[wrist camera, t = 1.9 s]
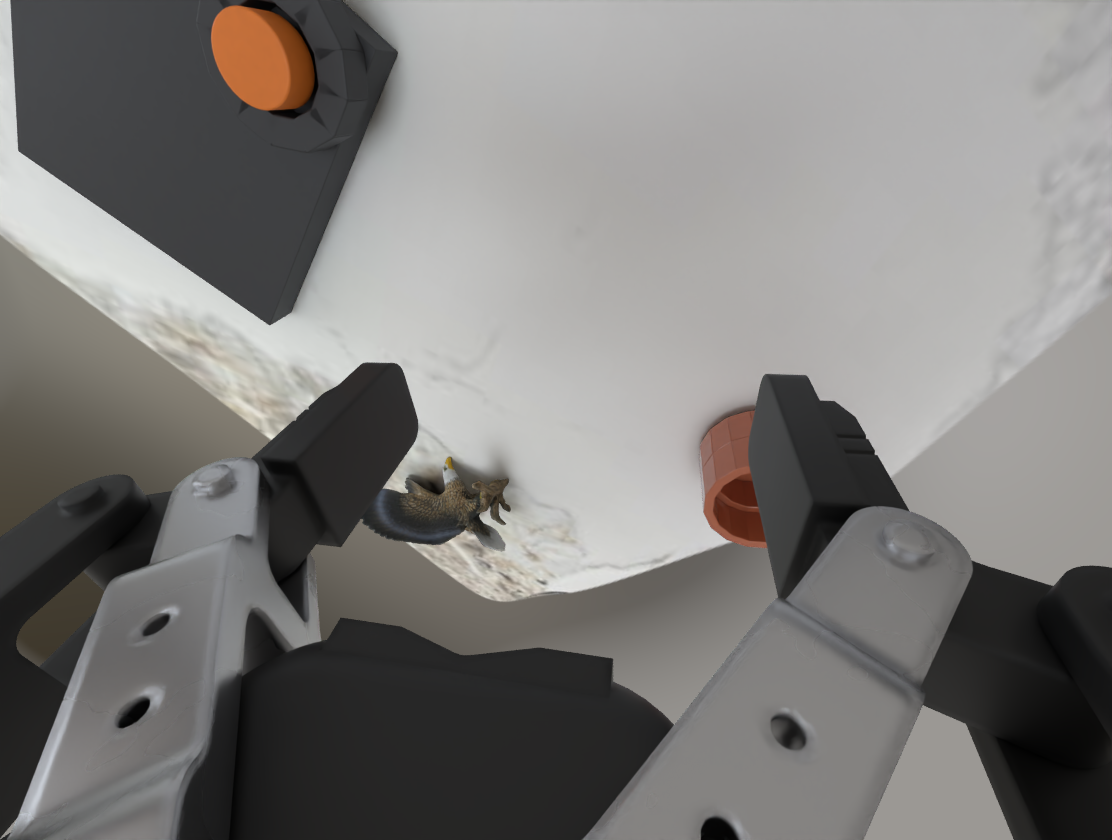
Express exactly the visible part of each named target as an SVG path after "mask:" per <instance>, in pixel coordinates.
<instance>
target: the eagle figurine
mask: <svg viewBox="0 0 1112 840" xmlns="http://www.w3.org/2000/svg"><path fill="white" fill-rule="evenodd" d="M443 478H444V483H445V491H444V492H443V493H442V494H440V495H437V494H434V493H432V492H430V491H428V490H426V489H424V488H423V487H421V486H420V485H418V484H417V483H415V482H414V481H413V480H411V479H409V478H406V480H407V481H405V483H406V484H407V485H406V486H405V488H406V489H408V493H399V492H397V491H394V490H390V489H381V491H380V492H379V494H378V495H377V496H376V498H375V499H374V501H373V502H372V504H371V505H370V506H369V508H368V509H367V511H366V512H365V514H364V515H363V516H362V518H361V519H363V524H364V525H367V526H369V529H371V530H374V532H375V533H378V534H380V536H383V537H384V536H385V537H386V539H392V540H394V541H404V542H411V543H417V544H431V545H441V544H443V543H445V542H447V541H449V540H450V539H452V538H454V537H456V535H459V534H461V532H464V530H467V531H469V532H471V533H473V534H475V535H476V536H477V538H478V539H479V541H480V542H481V543H482V545H483V546H485V547H488V548H490V549H493V550H498V551H505V542H504V541H503V540H502V538H501V536H500V535H499V533H498V532H497V531H496V530H495V529H494V528H492V527H491V526H488V525H486V524H484V523H483V522H482V521H481V520H480V517H479V515H480V513H481V512H485V511H487V510H488V508H489V506H490V507H491V510H490V515H491V518H492V519H493V520H495V521H497V522H498V523H500V524H501V525H506V523H505V522H504V521H503V520H502V519H501V518H500V516H499V503H500V504H501V506H502V508H503V509H504V510H506V511H508V512H510V510H511V508H510V506H509V505H507V504H506V503H505V500H504V498H503V495H502V493H503V490H504V488H505V487H506V485H507V484H508V483H509V479H502V480H498V479H497V480H494V481H492V482H491V483H490V485H489V486H487V485H485V484H484V483H482V482H481V481H478V482H476V483H474V484H472V488H474V489H476V490H480V491H481V492H479V493H477V494H470V493H469V491H468V490H467V488H466V486H465V485H464V483H463V482H462V481H461V480H460V479H459V477H458V475H457V474H456V472H455V470H454V468H453V466H452V462H451V457H448V458H447V460H446V463H445V465H444V467H443Z"/></svg>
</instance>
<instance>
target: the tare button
mask: <svg viewBox="0 0 1112 840" xmlns="http://www.w3.org/2000/svg"><path fill="white" fill-rule="evenodd" d="M211 43H212V50H213V54H214V58H215V61H216V64H217V66H218V69H219V71H220V73H221V75H222V76H223V78H224V80H225V81H226V83H227V84H228V86H229V87H230V88H231V89H232V91H233V92H234V93H235V94H236V95H237V96H238V97H239V98H240V99H241V100H243V101H244V102H246V103H247V104H249V105H250V106H252V107H254V108H257V109H260V110H265V111H270V110H285V109H296V108H299V107H301V106H303V105H304V104H305V103H306V102H307V101H308V100H309V98H310V97H311V95H312V92H313V89H314V82H315V73H314V66H313V61H312V58H311V55H310V52H309V50H308V47H307V45H306V43H305V42H304V40H303V38H302V37H301V35H300V34H299V32H298V31H297V30H296V29H295V28H294V27H293V26H292V25H291V24H290V23H289V22H288V21H287V20H286V19H284V18H283V17H282V16H280V15H278V14H276V13H274V12H270V11H266V10H261V9H255V8H250V7H244V6H237V5H235V6H229V7H226V8H225V9H223V10H222V11H221V12H220V13H219V14H218V15H217V16H216V18H215V20H214V22H213V26H212V32H211Z"/></svg>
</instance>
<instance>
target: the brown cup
mask: <svg viewBox="0 0 1112 840" xmlns="http://www.w3.org/2000/svg"><path fill="white" fill-rule="evenodd" d="M754 412H755V411H746V412H743V413H739V414H736V415H733V416H729V417H728V418H725V419H724V420H723V421H721V422H720V423H718V424H717V425H715V426H714V427H712V428H711V430H709V432H708V433H707V435H706V436H705V438H704V439H703V441H702V442H701V445H700V453H699V465H700V477H701V489H702V501H703V512H704V515H705V517H706V519H707V521H708V523H709V525H710V527H711V528H712V529H713V530H715V531H716V532H717V533H719V534H720V535H721V536H722V537H724V538H725V539H727V540H729V541H732V542H735V543H738V544H741V545H744V546H747V547H758V548H767V544H766V540H765V535H764V530H763V526H762V521H761V517H760V512H759V508H758V503H757V499H756V494H755V490H754V485H753V481H752V476H751V472H750V467H749V461H748V444H749V436H750V431H751V427H752V422H753V417H754Z"/></svg>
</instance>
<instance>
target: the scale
mask: <svg viewBox="0 0 1112 840" xmlns="http://www.w3.org/2000/svg"><path fill="white" fill-rule="evenodd" d="M10 1H11V20H12V40H13V59H14V78H15V97H16V116H17V136H18V151H19V152H20V153H22V154H23V155H25V156H26V157H28V158H29V159H31V160H32V161H33V162H35V163H36V164H38V165H39V166H41V167H42V168H44V169H45V170H46V171H48V172H49V173H51V174H52V175H54V176H55V177H56V178H58V179H59V180H61V181H62V182H64V183H65V184H67V185H68V186H69V187H71V188H72V189H74V190H75V191H77V192H78V193H80V194H81V195H82V196H84V197H85V198H87V199H88V200H90V201H91V202H93V203H94V204H95V205H97V206H98V207H100V208H101V209H103V210H104V211H105V212H107V213H108V214H110V215H111V216H113V217H114V218H116V219H117V220H118V221H120V222H121V223H123V224H124V225H126V226H127V227H129V228H130V229H131V230H133V231H134V232H136V233H137V234H139V235H140V236H142V237H143V238H144V239H146V240H147V241H149V242H150V243H152V244H153V245H154V246H156V247H157V248H159V249H160V250H162V251H163V252H165V253H166V254H167V255H169V256H170V257H172V258H173V259H175V260H176V261H178V262H179V263H180V264H182V265H183V266H185V267H186V268H188V269H189V270H191V271H192V272H193V273H195V274H196V275H198V276H199V277H201V278H202V279H204V280H205V281H206V282H208V283H209V284H211V285H212V286H214V287H215V288H216V289H218V290H219V291H221V292H222V293H224V294H225V295H227V296H228V297H229V298H231V299H232V300H234V301H235V302H237V303H238V304H240V305H241V306H242V307H244V308H245V309H247V310H248V311H250V312H251V313H253V314H254V315H255V316H257V317H258V318H260V319H261V320H263V321H264V322H265V323H267V324H268V325H271V324H273V323H275V322H276V321H278V320H280V319H281V318H283V317H285V316H286V315H288V314H290V313H291V310H292V308H293V306H294V303H295V301H296V298H297V296H298V293H299V291H300V289H301V286H302V284H303V281H304V279H305V276H306V274H307V272H308V269H309V267H310V264H311V262H312V259H313V257H314V255H315V252H316V250H317V247H318V245H319V242H320V240H321V238H322V235H323V233H324V230H325V228H326V225H327V223H328V221H329V218H330V216H331V213H332V211H333V208H334V206H335V204H336V201H337V199H338V196H339V194H340V191H341V189H342V187H343V184H344V182H345V179H346V177H347V174H348V172H349V170H350V167H351V165H352V162H353V160H354V157H355V155H356V153H357V150H358V148H359V145H360V143H361V140H362V138H363V136H364V133H365V131H366V128H367V126H368V123H369V121H370V119H371V116H372V114H373V111H374V109H375V106H376V104H377V102H378V99H379V97H380V94H381V92H382V90H383V87H384V85H385V82H386V80H387V77H388V75H389V73H390V70H391V68H392V65H393V63H394V60H395V58H396V56H397V51H396V50H395V49H394V48H393V47H391V46H390V45H389V44H388V43H387V42H386V41H385V40H384V39H383V38H382V37H381V36H380V35H378V34H377V33H376V32H375V31H374V30H373V29H372V28H371V27H370V26H369V25H368V24H366V23H365V22H364V21H363V20H362V19H361V18H360V17H359V16H358V15H357V14H356V13H355V12H353V11H352V10H351V9H350V8H349V7H348V6H347V5H346V4H345V3H344V2H343V1H341V0H10ZM235 5H237V6H244V7H250V8H255V9H261V10H266V11H270V12H274V13H276V14H278V15H280V16H282V17H283V18H284V19H286V20H287V21H288V22H289V23H290V24H291V25H292V26H293V27H294V28H295V29H296V30H297V31H298V32H299V34H300V35H301V37H302V38H303V40H304V42H305V43H306V45H307V47H308V50H309V52H310V55H311V58H312V61H313V66H314V73H315V82H314V89H313V92H312V95H311V97H310V98H309V100H308V101H307V102H306V103H305V104H304V105H303V106H301V107H299V108H296V109H285V110H270V111H265V110H260V109H257V108H254V107H252V106H250V105H249V104H247V103H246V102H244V101H243V100H241V99H240V98H239V97H238V96H237V95H236V94H235V93H234V92H233V91H232V89H231V88H230V87H229V86H228V84H227V83H226V81H225V80H224V78H223V76H222V75H221V73H220V71H219V69H218V66H217V64H216V61H215V58H214V54H213V50H212V43H211V32H212V26H213V22H214V20H215V18H216V16H217V15H218V14H219V13H220V12H221V11H222V10H223V9H225V8H226V7H229V6H235Z"/></svg>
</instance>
